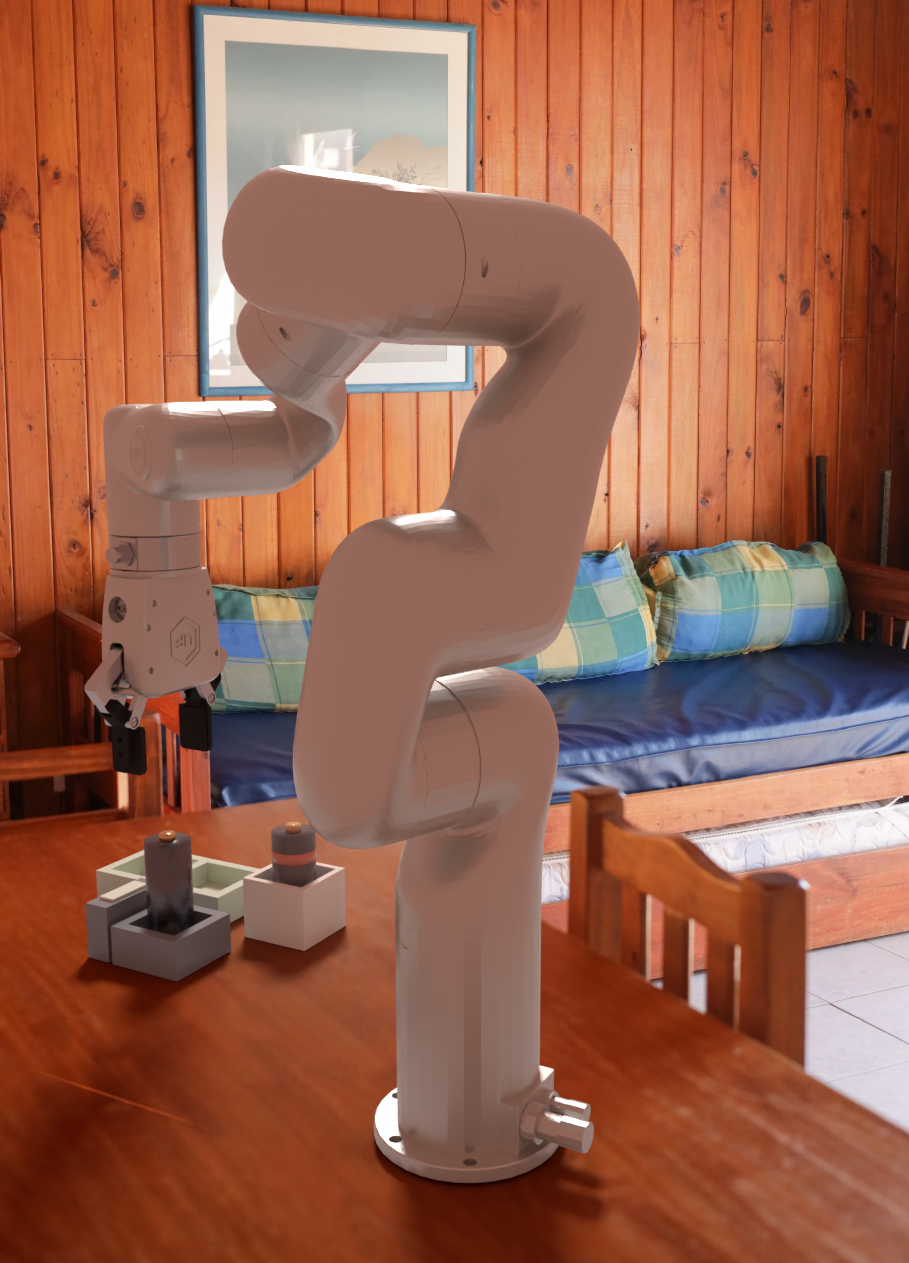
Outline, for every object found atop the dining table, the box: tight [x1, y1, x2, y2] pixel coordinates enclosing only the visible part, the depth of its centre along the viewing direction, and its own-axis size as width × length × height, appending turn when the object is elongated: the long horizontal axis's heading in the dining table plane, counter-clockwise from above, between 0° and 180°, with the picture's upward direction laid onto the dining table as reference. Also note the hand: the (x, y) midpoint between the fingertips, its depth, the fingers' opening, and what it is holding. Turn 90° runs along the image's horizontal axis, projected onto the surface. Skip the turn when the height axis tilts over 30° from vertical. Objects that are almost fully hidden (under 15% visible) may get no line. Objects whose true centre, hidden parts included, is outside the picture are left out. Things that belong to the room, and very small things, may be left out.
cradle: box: [85, 878, 232, 983], centre depth 118 cm, size 10×7×5 cm
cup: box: [243, 821, 347, 952], centre depth 123 cm, size 7×7×10 cm
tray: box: [95, 849, 261, 924], centre depth 131 cm, size 15×8×3 cm, turn 61°
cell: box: [143, 829, 195, 936], centre depth 117 cm, size 4×4×10 cm
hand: (164, 759), depth 115 cm, fingers open, 7 cm apart
